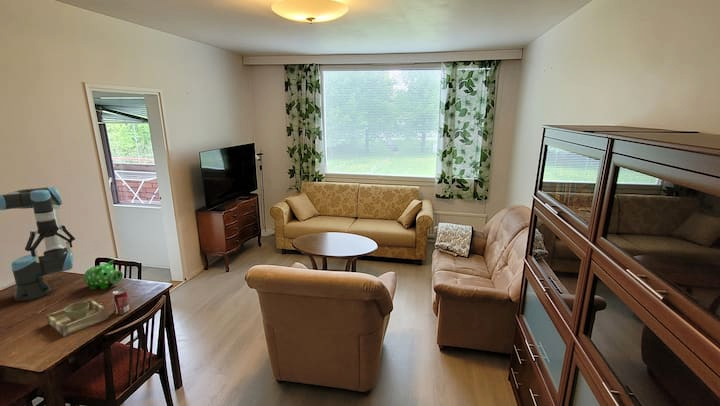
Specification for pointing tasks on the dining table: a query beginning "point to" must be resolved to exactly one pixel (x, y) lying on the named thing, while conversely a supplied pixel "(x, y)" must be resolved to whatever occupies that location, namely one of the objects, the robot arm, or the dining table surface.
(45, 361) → the dining table surface
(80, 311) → the flower pot
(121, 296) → the soda can
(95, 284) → the piggy bank
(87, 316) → the crate
